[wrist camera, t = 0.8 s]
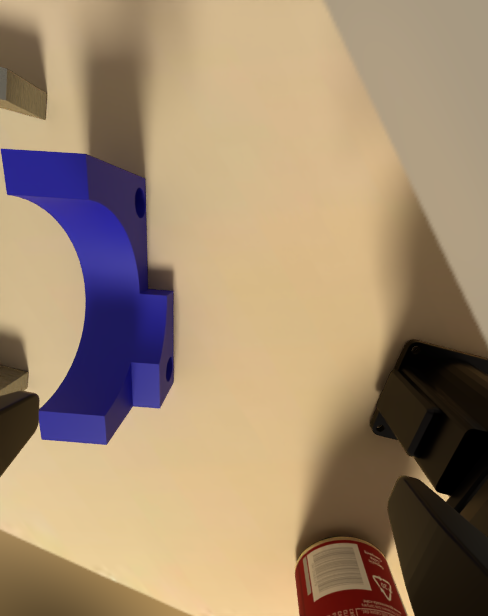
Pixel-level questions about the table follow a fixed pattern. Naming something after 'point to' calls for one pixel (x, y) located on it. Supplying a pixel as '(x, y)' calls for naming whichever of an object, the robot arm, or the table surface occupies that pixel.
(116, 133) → the table surface
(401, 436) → the robot arm
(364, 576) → the soda can
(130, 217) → the cable clip
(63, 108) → the table surface
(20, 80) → the stop bracket
